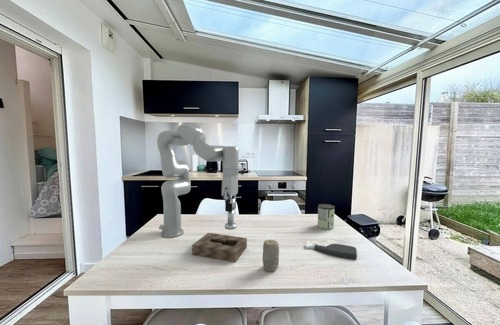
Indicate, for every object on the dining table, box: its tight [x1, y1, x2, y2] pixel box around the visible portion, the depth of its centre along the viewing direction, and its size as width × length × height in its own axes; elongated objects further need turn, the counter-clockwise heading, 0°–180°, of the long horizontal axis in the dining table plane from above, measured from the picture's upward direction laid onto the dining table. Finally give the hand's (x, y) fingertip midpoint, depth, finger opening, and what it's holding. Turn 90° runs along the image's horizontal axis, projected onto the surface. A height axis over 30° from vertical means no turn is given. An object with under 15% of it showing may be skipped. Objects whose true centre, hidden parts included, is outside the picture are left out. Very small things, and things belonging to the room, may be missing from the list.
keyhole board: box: [191, 232, 248, 263], centre depth 113 cm, size 22×16×5 cm
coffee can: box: [317, 203, 336, 231], centre depth 149 cm, size 10×10×14 cm
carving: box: [262, 239, 280, 272], centre depth 97 cm, size 6×8×12 cm
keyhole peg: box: [224, 198, 237, 231], centre depth 110 cm, size 6×6×14 cm
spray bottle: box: [304, 240, 358, 260], centre depth 116 cm, size 3×11×24 cm
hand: (230, 209), depth 110 cm, fingers closed on keyhole peg, 4 cm apart
